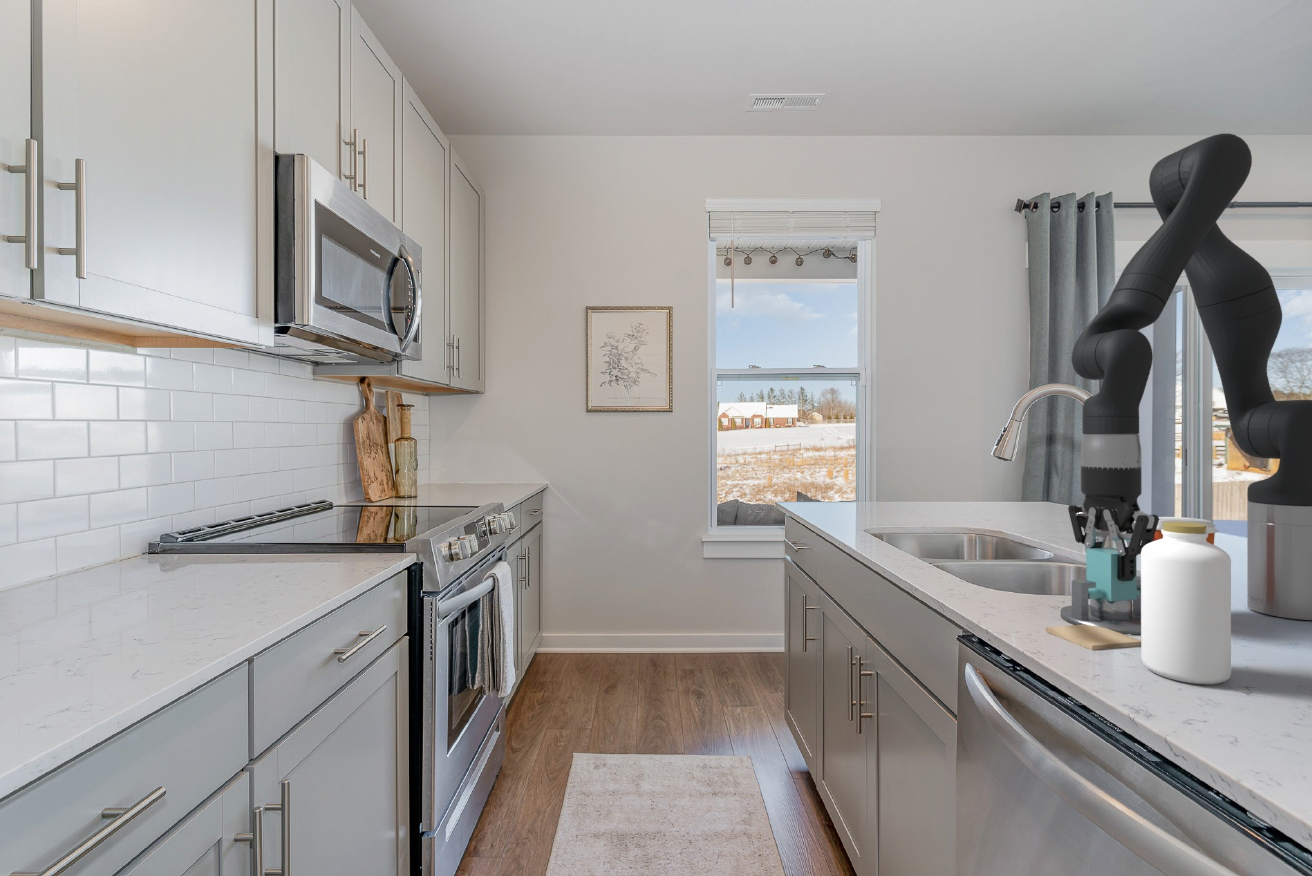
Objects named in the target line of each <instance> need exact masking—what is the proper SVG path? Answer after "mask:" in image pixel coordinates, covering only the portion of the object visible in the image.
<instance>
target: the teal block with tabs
mask: <svg viewBox="0 0 1312 876" xmlns="http://www.w3.org/2000/svg"><path fill="white" fill-rule="evenodd" d="M1085 550H1086V552H1085V561H1086V562H1085V565H1086V567H1085V568H1086V569H1085V577H1086V579H1085V580H1090V581H1093V582H1096V588H1088V600H1090V599H1097V598H1102V599H1105V600H1108V601H1124V600H1132V601H1133V600H1137V596H1140V590H1137V572H1138V570H1137V562H1138V560H1137V559H1138V558H1137V557H1138V555H1137V556H1136V576H1135V578H1134V579H1133V580H1132V581H1120V580H1118V578H1117V556H1120V555H1119V554H1118V552H1117V548H1115V547H1109V546H1108V547H1103V548H1091V549H1087V548H1085Z"/></svg>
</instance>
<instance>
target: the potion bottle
mask: <svg viewBox="0 0 1312 876" xmlns="http://www.w3.org/2000/svg"><path fill="white" fill-rule="evenodd" d="M1163 527H1164V529H1162V530H1161V532H1162V534H1163V539H1159V540H1156V541H1153V542H1151V543H1148V544H1146V545H1145V546H1144V547H1143V548H1142V550H1141V554H1140V576H1141V635H1140V640H1141V646H1140V651H1141V652H1140V654H1141V655H1140V656H1141V657H1140V659H1141V661H1142V663H1143V665H1144V667H1146V668H1147V669H1148V670H1149V671H1151V672H1152V673H1154V674H1156V675H1159V676H1161V677H1164V678H1167V679H1170V680H1173V681H1178V682H1181V683H1182V682H1183V683H1187V684H1196V685H1217V684H1221V683H1224V682H1226V681H1228V680H1229V678H1230V676H1231V675H1232V559H1231V555H1230V554H1228V552H1227V551H1225V550H1224V549H1222V548H1221V547H1219V546H1218V545H1215V544H1214V545H1213V544H1210V543H1208V542H1206V538H1207V537H1208V533H1207V532H1205V531H1206V528H1207V526H1206V525H1204V524H1198V523H1190V522H1164V523H1163Z"/></svg>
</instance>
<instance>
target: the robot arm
mask: <svg viewBox="0 0 1312 876" xmlns="http://www.w3.org/2000/svg"><path fill="white" fill-rule="evenodd" d="M1252 157H1253V155H1252V152H1251V149H1250V147H1249V145H1248V144H1247V142H1246V141H1245V139H1243V138H1241V137H1240V136H1238V135H1236V134H1233V133H1217V134H1214V135H1210V136H1208V137H1205V138H1203V139H1201V140H1198V141H1197V142H1194V143H1192V144H1189V145H1188V146H1185V147H1183V148H1181V149H1179V150H1177V151H1175V152H1173V153H1171V154H1168V155H1166V156H1164V157H1162V158H1161V159H1159V160H1158V161H1157V162H1156V163H1154V166H1153V167H1152V169H1151V171H1150V174H1149V179H1148V186H1149V192H1150V195H1151V198H1152V201H1153V204H1154V206H1155V209H1156V211H1157V213H1158V215H1159V216H1160V219H1161V222H1162V224H1161V225H1160V227H1159V228H1158V229H1157V230H1156V231H1155V232H1154V233H1153V234H1152V236H1150V238H1149V239H1148V240H1146V242H1145V243H1144V244H1143V245H1142V246H1141V247H1140V248H1139V250H1137V251H1136V253H1135V254H1134V255H1133V256H1132V257H1131V259H1130V260H1129V262H1128V263H1127V264H1126V265H1125V268H1124V269H1123V271H1122V272H1121V274H1120V276H1119V278H1118V280H1117V283H1116V284H1115V287H1114V288H1113V290H1112V291H1111V294H1110V297H1109V298H1108V301H1107V302H1106V304H1105V305H1104V306H1103V307H1102V308H1101V310H1099V312H1098V313H1097V314H1096V315H1095V316H1094V318H1093V319H1092V320H1091V321H1090V323H1089V324H1088V325H1087V326H1086V327H1085V329H1084V330H1083V332H1081V334H1080V335H1079V337H1078V338H1077V340H1076V342H1075V344H1074V346H1073V349H1072V352H1071V365H1072V368H1073V370H1074V371H1075V373H1076V374H1077V375H1078V376H1079V377H1082V378H1083V379H1086V380H1091V381H1097V380H1098V381H1099V380H1100V381H1101V380H1102V384H1101V386H1100V390H1099V392H1098V393H1096V394H1094V395H1092V396H1090V397H1088V398H1086V399H1085V400H1084V402H1083V406H1082V439H1081V445H1080V446H1081V447H1080V493H1081V494H1082V495H1085V498H1084V501H1083V503H1082V504H1074V505H1069V506H1068V510H1067V511H1068V514H1069V518H1070V523H1071V527H1072V530H1073V531H1072V532H1073V536H1074V539H1075V542H1076V543H1077V544H1083V545H1084V547H1085V549H1091V548H1105V544H1106V541H1107V537H1108V536H1109V535H1110V539H1111V540H1112V541H1114V543H1115V547H1116V549H1117V552H1118V554H1119V555H1120V556H1117V578H1118V580H1120V581H1132V580H1133V579H1134V578H1135V576H1136V556H1137V557H1138V555H1141V550H1142V548H1143V547H1144V546H1145V545H1146V544H1148V543H1151V542H1153V539H1154V535H1155V532H1156V528H1157V525H1158V522H1159V517H1160V516H1158V515H1157V514H1147V513H1145V512H1143V511H1141V508H1140V505H1139V504H1138V498H1139V497H1140V496H1141V495H1142V489H1143V488H1142V482H1143V481H1142V477H1143V476H1142V446H1141V440H1140V439H1141V438H1140V405H1141V402H1142V399H1143V397H1144V393H1145V390H1146V386H1147V383H1148V380H1149V376H1150V374H1151V370H1152V369H1151V368H1152V365H1153V359H1154V357H1153V348H1152V345H1151V343H1150V341H1149V339H1148V338H1147V337H1146V335H1145V334H1144V333H1143V332H1141V331H1140V330H1143V329H1144V328H1146V327H1149V326H1151V325H1152V324H1154V323H1156V321H1157V320H1158V319H1159V318H1160V316H1161V315H1162V313H1163V311H1164V308H1165V307H1166V305H1167V303H1168V300H1170V297H1171V295H1172V293H1173V291H1174V289H1175V287H1176V285H1177V283H1178V281H1179V279H1180V277H1181V275H1182V273H1183V271H1184V272H1185V276H1186V278H1187V281H1188V283H1189V285H1190V290H1191V292H1192V295H1193V300H1194V303H1195V305H1196V309H1197V312H1198V316H1199V318H1200V320H1201V321H1200V322H1201V324H1202V326H1203V329H1204V332H1205V334H1206V337H1207V339H1208V343H1209V344H1210V347H1211V348H1210V349H1211V351H1212V355H1213V357H1214V360H1215V361H1214V362H1215V365H1216V367H1217V370H1218V373H1219V378H1220V381H1221V385H1222V390H1223V395H1224V399H1225V400H1224V401H1225V404H1226V410H1227V411H1226V412H1227V415H1228V419H1229V424H1230V429H1231V432H1232V435H1233V438H1234V440H1235V442H1236V444H1237V446H1238V448H1240V449H1241V451H1242V452H1244V453H1245V454H1246V455H1248V456H1250V457H1253V458H1259V459H1273V460H1279V462H1278V468H1277V470H1276V472H1275V473H1273V474H1272V475H1271V476H1270V477H1267V478H1264V479H1262V480H1258V481H1254V482H1252V483H1250V484H1248V486H1247V492H1246V493H1247V494H1246V495H1247V497H1246V498H1247V499H1246V500H1247V506H1246V508H1247V514H1246V515H1247V516H1246V517H1247V519H1246V520H1247V523H1246V524H1247V531H1246V532H1247V536H1246V538H1247V539H1246V541H1247V543H1246V544H1247V547H1246V548H1247V561H1246V562H1247V568H1246V569H1247V581H1246V583H1247V584H1246V587H1247V597H1246V598H1247V609H1250V610H1252V611H1255V612H1257V613H1260V614H1264V615H1268V616H1274V617H1277V618H1285V619H1292V620H1302V621H1303V620H1305V621H1312V399H1290V400H1289V399H1288V400H1276V398H1275V397H1274V394H1273V391H1272V388H1271V385H1270V382H1269V381H1270V380H1269V378H1268V362H1269V359H1270V356H1271V352H1272V350H1273V348H1274V345H1275V343H1276V341H1277V337H1278V336H1279V334H1280V333H1279V332H1280V329H1281V326H1282V321H1283V310H1282V306H1281V303H1280V299H1279V297H1278V294H1277V290H1276V287H1275V285H1274V281H1273V279H1272V277H1271V275H1270V273H1269V272H1268V270H1267V269H1266V268H1265V266H1263V265H1262V264H1261V263H1260V261H1258V260H1257V259H1255V257H1253V256H1251V255H1250V254H1249V253H1248V252H1246V251H1245V250H1244V249H1242V248H1241V247H1239V246H1238V245H1237V244H1235V243H1234V242H1233V241H1232V240H1231V239H1230V238H1228V237H1227V236H1226V234H1224V233H1223V231H1222V230H1221V228H1220V226H1219V225H1218V223H1217V221H1218V220H1219V219H1220V217H1221V216H1222V214H1223V213H1224V211H1225V210H1226V209H1227V208H1228V206H1229V205H1230V203H1231V202H1232V200H1234V198H1235V197H1236V196H1237V194H1238V192H1240V190H1241V189H1242V187H1243V186H1244V184H1245V183H1246V181H1247V179H1248V177H1249V175H1250V172H1251V169H1252V164H1253V158H1252ZM1082 529H1083V530H1082ZM1083 533H1084V534H1083Z"/></svg>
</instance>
